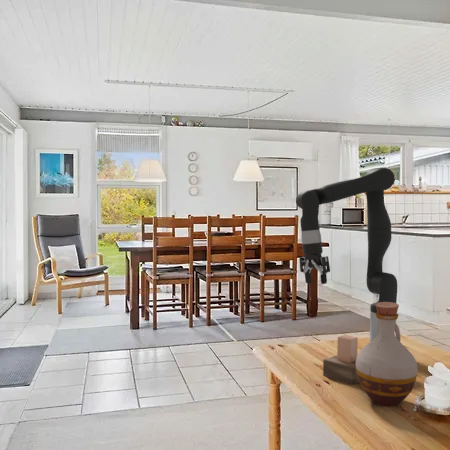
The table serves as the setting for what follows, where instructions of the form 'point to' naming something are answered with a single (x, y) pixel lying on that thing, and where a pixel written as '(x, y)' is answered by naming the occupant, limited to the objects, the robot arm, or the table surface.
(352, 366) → the walnut block
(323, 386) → the table surface
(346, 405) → the table surface
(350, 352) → the terracotta block
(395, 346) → the jug
